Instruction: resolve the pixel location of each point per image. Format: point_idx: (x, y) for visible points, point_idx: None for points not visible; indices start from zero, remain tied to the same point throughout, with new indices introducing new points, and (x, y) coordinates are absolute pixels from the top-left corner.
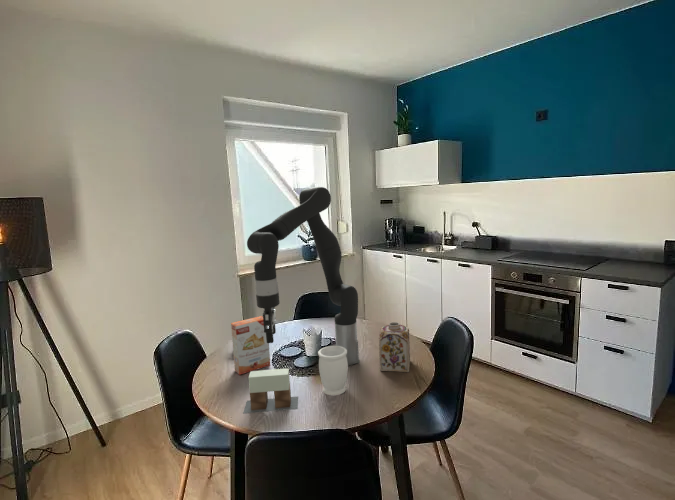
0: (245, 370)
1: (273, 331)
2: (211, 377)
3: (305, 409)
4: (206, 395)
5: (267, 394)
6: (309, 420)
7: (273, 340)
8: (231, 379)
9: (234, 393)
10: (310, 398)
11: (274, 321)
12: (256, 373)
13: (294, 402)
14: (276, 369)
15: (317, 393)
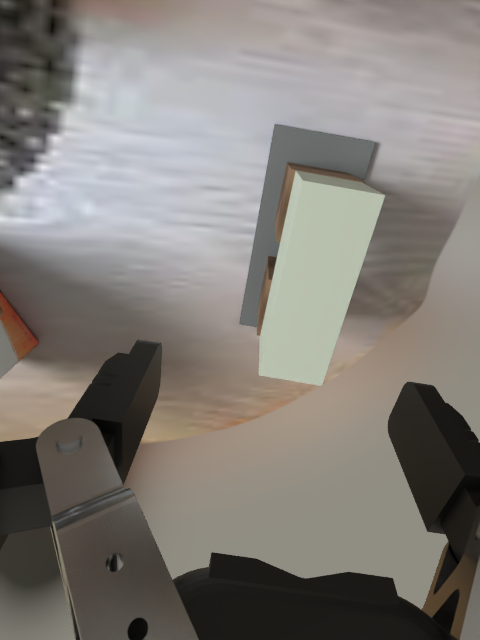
0: (18, 327)
1: (153, 370)
2: (48, 417)
3: (385, 104)
4: (164, 425)
5: (269, 265)
6: (477, 99)
7: (425, 390)
8: (69, 365)
9: (171, 357)
10: (303, 63)
11: (104, 447)
12: (295, 353)
13: (319, 150)
14: (287, 255)
15: (268, 12)
